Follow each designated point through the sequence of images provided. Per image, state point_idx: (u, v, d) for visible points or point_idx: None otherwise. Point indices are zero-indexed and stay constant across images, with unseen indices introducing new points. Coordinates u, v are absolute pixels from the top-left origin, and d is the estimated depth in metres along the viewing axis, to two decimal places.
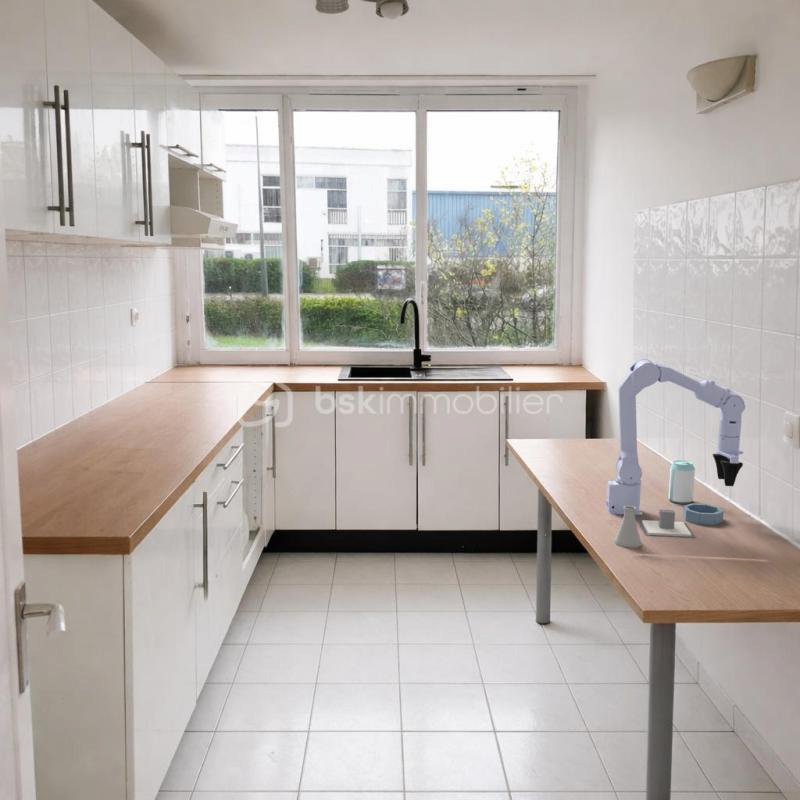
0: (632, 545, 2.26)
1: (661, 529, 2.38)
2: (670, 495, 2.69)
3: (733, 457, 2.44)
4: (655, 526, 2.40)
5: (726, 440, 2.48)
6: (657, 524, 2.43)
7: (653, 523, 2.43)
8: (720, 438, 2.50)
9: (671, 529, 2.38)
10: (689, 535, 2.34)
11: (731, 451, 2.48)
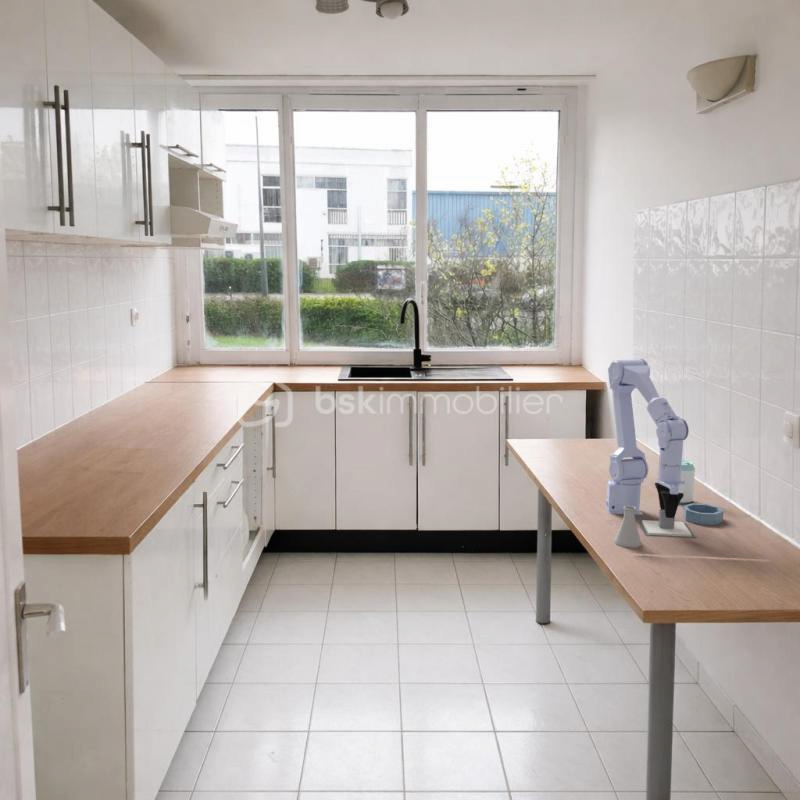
0: (632, 545, 2.26)
1: (661, 529, 2.38)
2: None
3: (673, 488, 2.31)
4: (655, 526, 2.40)
5: (666, 469, 2.35)
6: (657, 524, 2.43)
7: (653, 523, 2.43)
8: (660, 467, 2.37)
9: (671, 529, 2.38)
10: (689, 535, 2.34)
11: (672, 481, 2.35)
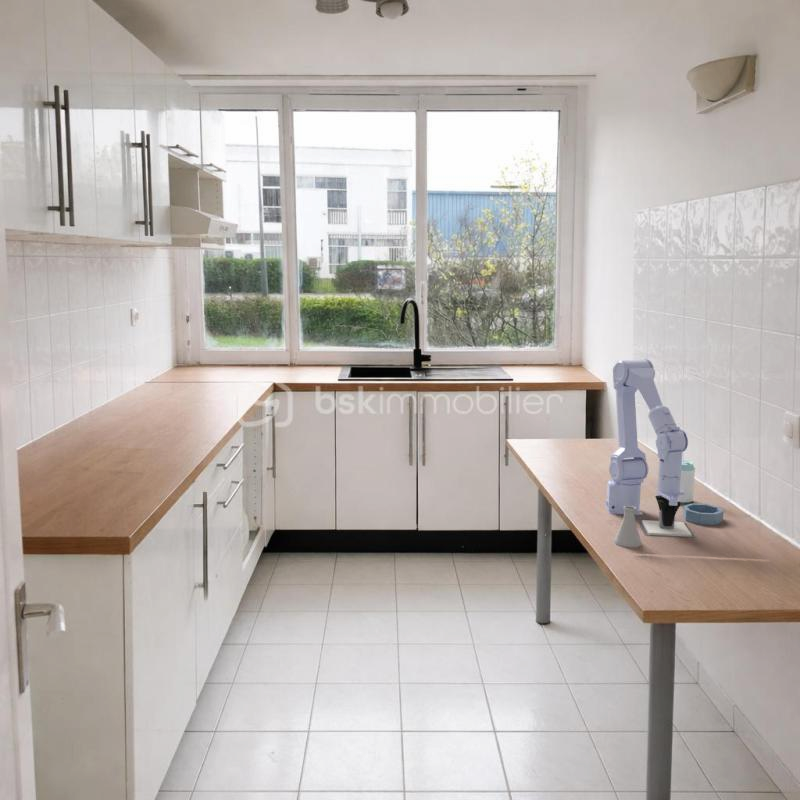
0: (632, 545, 2.26)
1: (661, 529, 2.38)
2: None
3: (672, 499, 2.32)
4: (655, 526, 2.40)
5: (666, 480, 2.36)
6: (657, 524, 2.43)
7: (653, 523, 2.43)
8: (660, 478, 2.37)
9: (671, 529, 2.38)
10: (689, 535, 2.34)
11: (671, 492, 2.36)
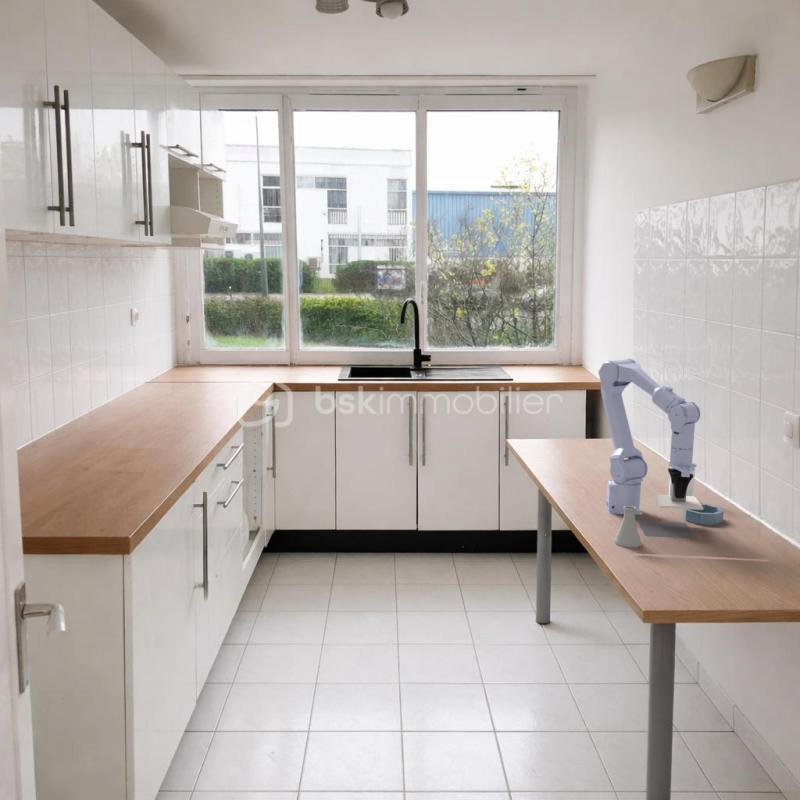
0: (632, 545, 2.26)
1: (673, 502, 2.40)
2: None
3: (684, 470, 2.33)
4: (667, 500, 2.42)
5: (678, 452, 2.37)
6: (669, 498, 2.44)
7: (665, 497, 2.45)
8: (672, 450, 2.39)
9: (683, 503, 2.40)
10: (701, 508, 2.36)
11: (683, 464, 2.37)
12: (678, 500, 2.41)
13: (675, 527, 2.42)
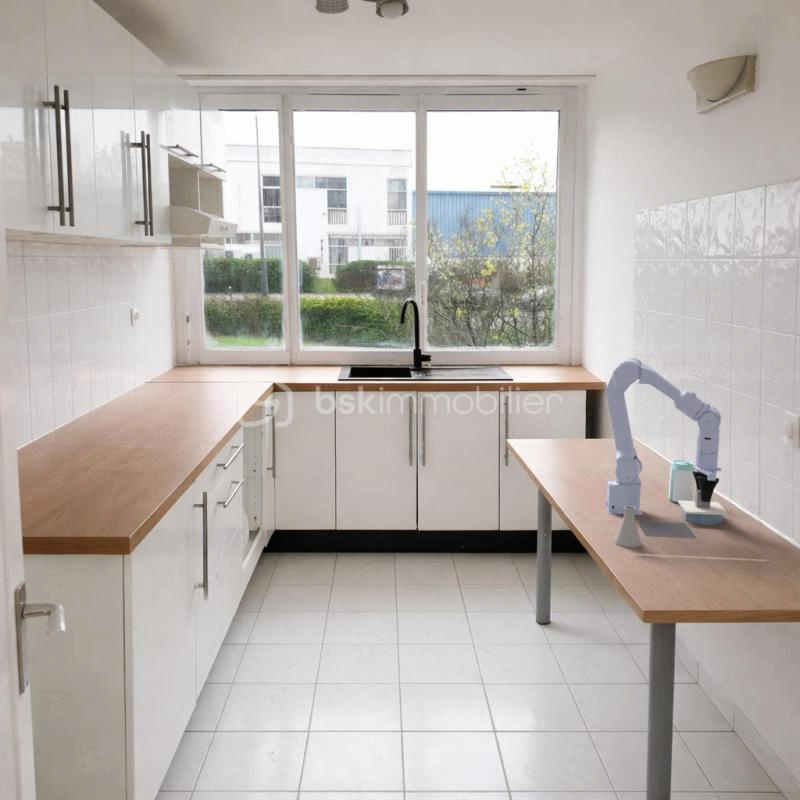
0: (632, 545, 2.26)
1: (698, 508, 2.47)
2: (670, 495, 2.69)
3: (710, 474, 2.41)
4: (691, 506, 2.50)
5: (704, 457, 2.45)
6: (693, 504, 2.52)
7: (689, 503, 2.53)
8: (698, 455, 2.46)
9: (707, 508, 2.47)
10: (725, 514, 2.44)
11: (709, 468, 2.45)
12: (703, 506, 2.48)
13: (675, 527, 2.42)
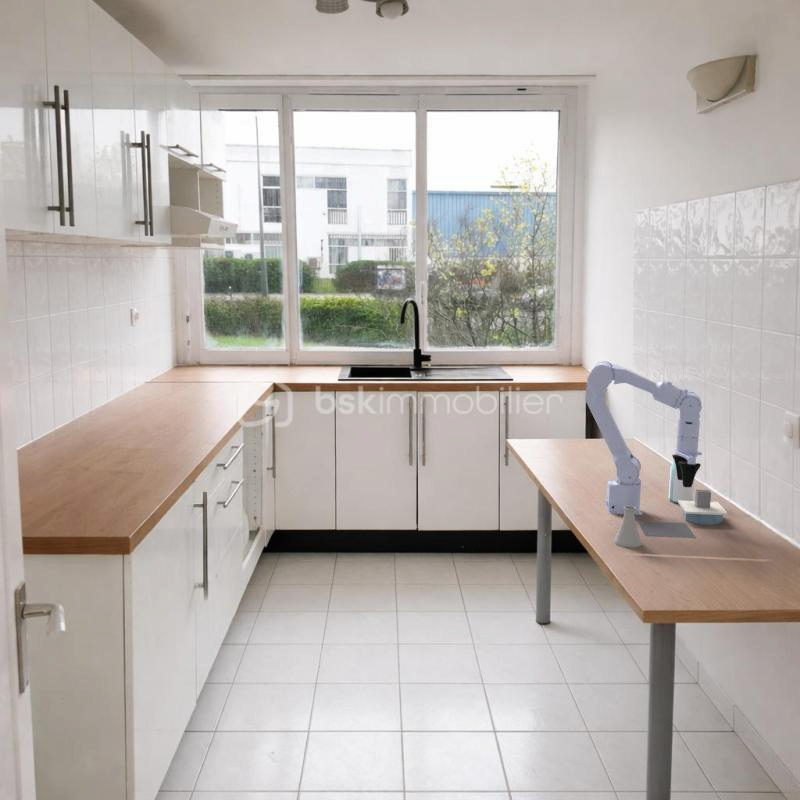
0: (632, 545, 2.26)
1: (698, 508, 2.47)
2: (670, 495, 2.69)
3: (690, 458, 2.43)
4: (691, 506, 2.50)
5: (684, 441, 2.47)
6: (693, 504, 2.52)
7: (689, 503, 2.53)
8: (678, 439, 2.49)
9: (707, 508, 2.47)
10: (725, 514, 2.44)
11: (689, 452, 2.47)
12: (703, 506, 2.48)
13: (675, 527, 2.42)
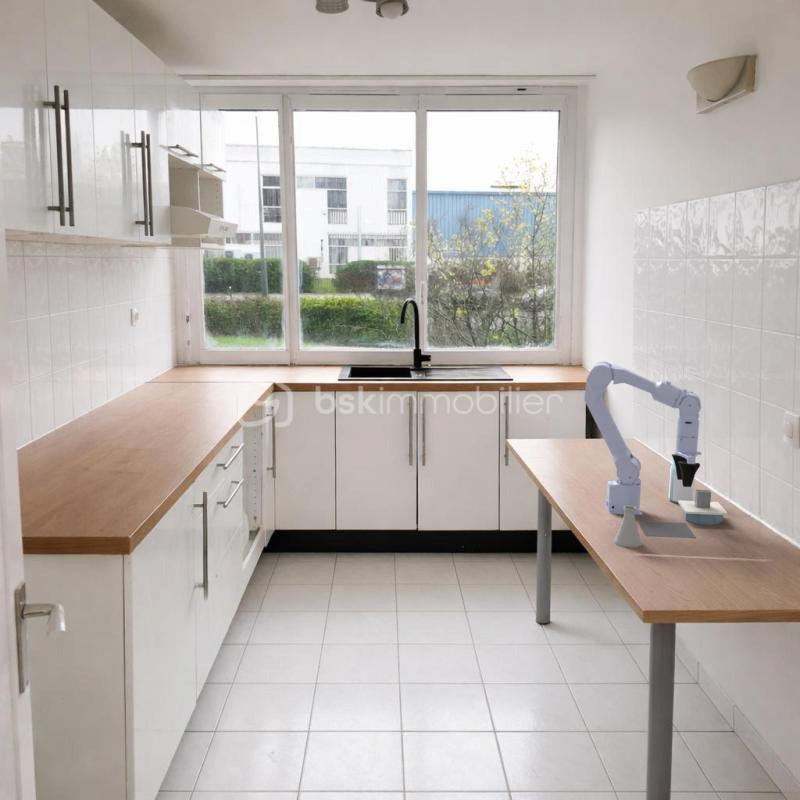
0: (632, 545, 2.26)
1: (698, 508, 2.47)
2: (670, 495, 2.69)
3: (690, 458, 2.43)
4: (691, 506, 2.50)
5: (684, 441, 2.47)
6: (693, 504, 2.52)
7: (689, 503, 2.53)
8: (678, 439, 2.49)
9: (707, 508, 2.47)
10: (725, 514, 2.44)
11: (689, 452, 2.47)
12: (703, 506, 2.48)
13: (675, 527, 2.42)
